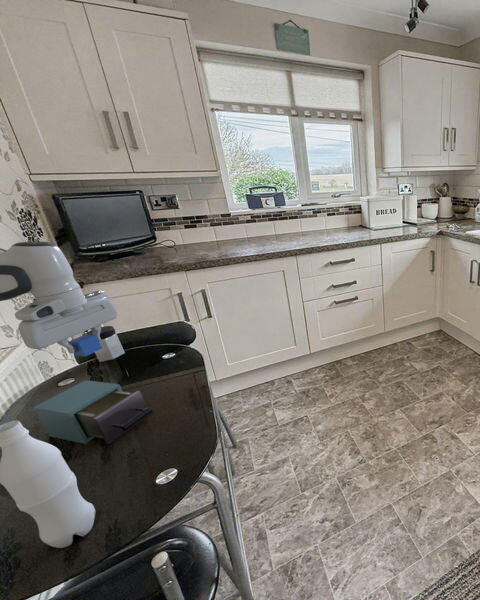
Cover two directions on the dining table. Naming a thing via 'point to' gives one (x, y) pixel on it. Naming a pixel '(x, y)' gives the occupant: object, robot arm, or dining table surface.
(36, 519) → the water bottle
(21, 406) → the dining table surface
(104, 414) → the purple drawer
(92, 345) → the blue cube
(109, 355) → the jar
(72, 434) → the drawer cabinet
